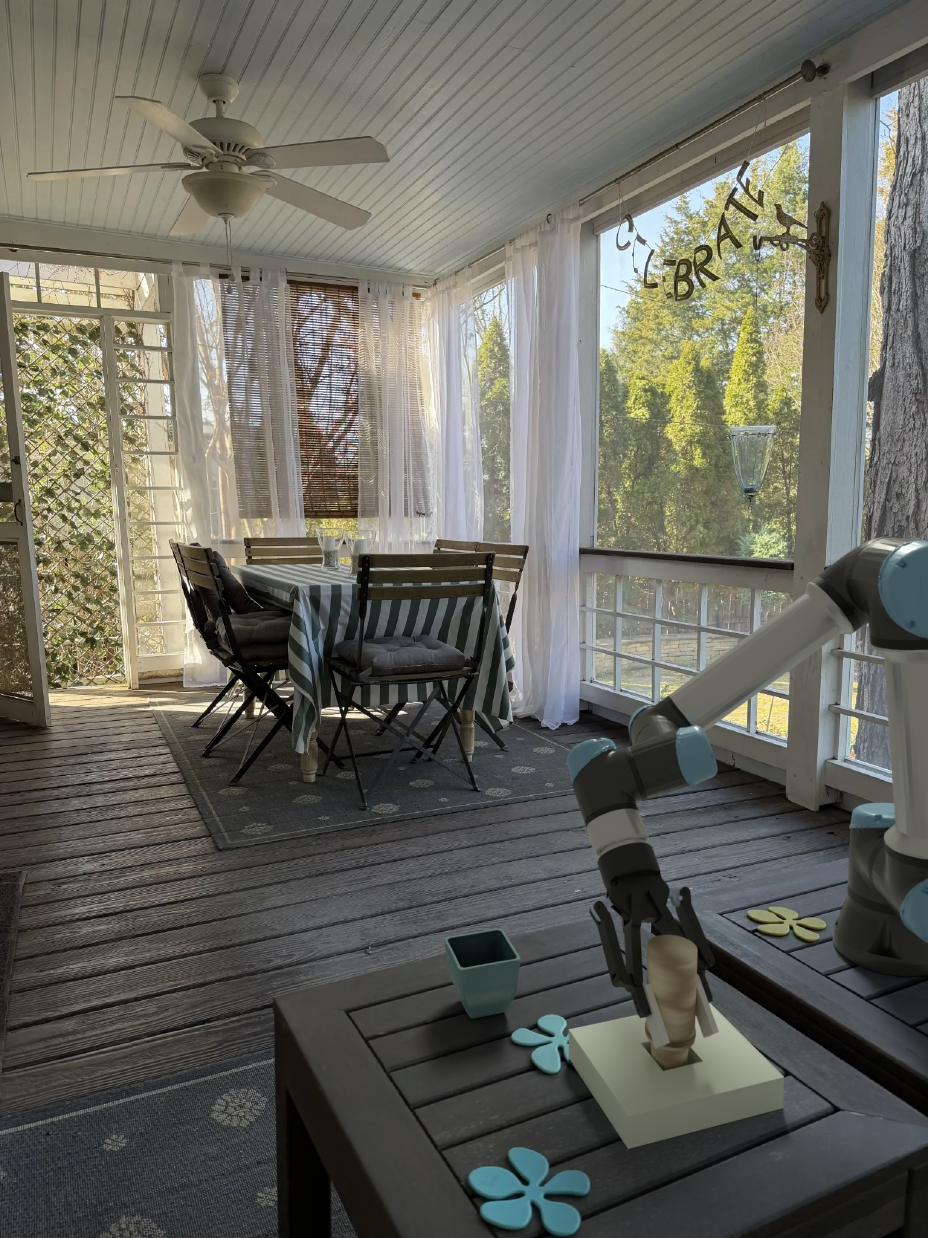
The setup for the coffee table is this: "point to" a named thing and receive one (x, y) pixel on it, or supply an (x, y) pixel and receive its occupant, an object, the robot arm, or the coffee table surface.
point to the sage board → (673, 1080)
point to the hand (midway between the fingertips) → (686, 1040)
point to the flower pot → (483, 971)
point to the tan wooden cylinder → (673, 996)
